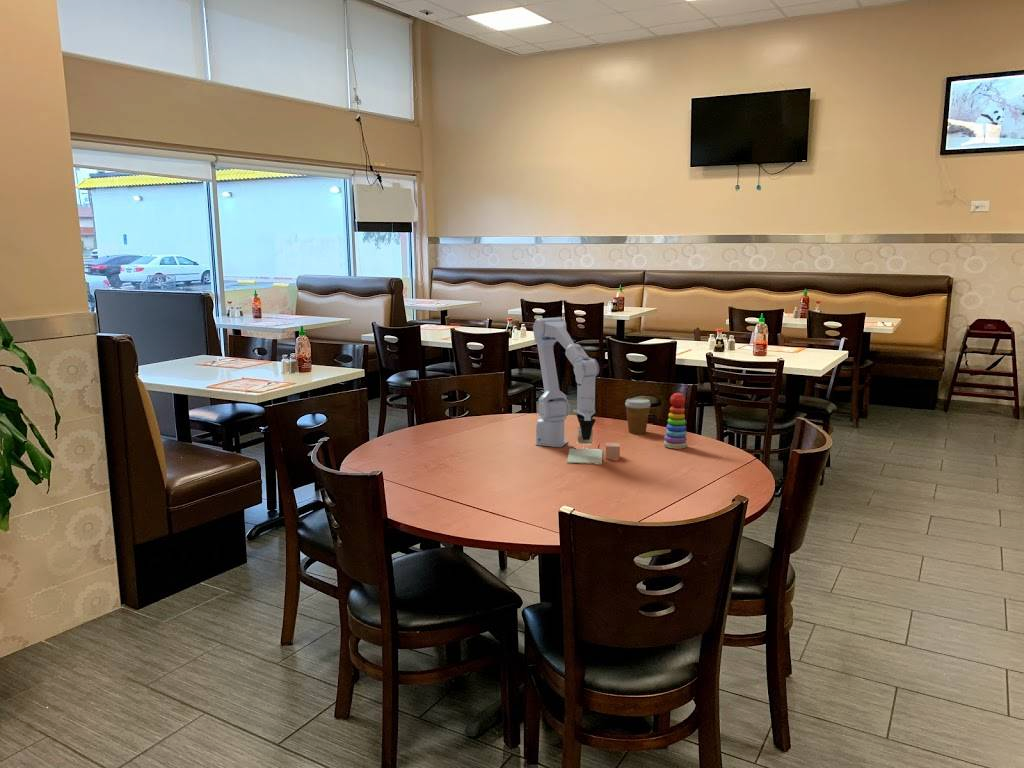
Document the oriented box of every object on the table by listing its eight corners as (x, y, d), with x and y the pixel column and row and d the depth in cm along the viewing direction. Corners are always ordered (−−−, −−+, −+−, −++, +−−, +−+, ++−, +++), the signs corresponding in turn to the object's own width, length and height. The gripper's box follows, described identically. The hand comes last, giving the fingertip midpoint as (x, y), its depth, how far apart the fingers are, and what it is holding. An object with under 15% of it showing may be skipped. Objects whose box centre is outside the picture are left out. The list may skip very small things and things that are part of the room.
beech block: (578, 443, 246) (578, 430, 245) (577, 440, 251) (577, 427, 250) (592, 443, 246) (592, 430, 245) (591, 440, 250) (591, 427, 250)
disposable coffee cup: (619, 430, 285) (619, 399, 283) (640, 428, 289) (641, 397, 287) (633, 436, 276) (634, 403, 274) (655, 433, 280) (656, 401, 278)
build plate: (567, 463, 242) (567, 461, 242) (569, 450, 258) (569, 448, 258) (601, 464, 241) (602, 462, 241) (602, 451, 256) (602, 449, 256)
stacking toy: (687, 450, 257) (689, 395, 254) (663, 449, 259) (665, 395, 255) (687, 444, 265) (689, 391, 262) (663, 443, 266) (665, 390, 263)
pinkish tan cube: (605, 459, 246) (605, 446, 246) (605, 456, 251) (605, 442, 250) (619, 460, 246) (619, 446, 245) (619, 456, 250) (619, 443, 250)
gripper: (572, 392, 253) (571, 432, 255) (575, 401, 239) (574, 443, 241) (593, 392, 253) (592, 432, 255) (597, 401, 239) (597, 443, 241)
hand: (585, 437), depth 248 cm, fingers closed on beech block, 4 cm apart
